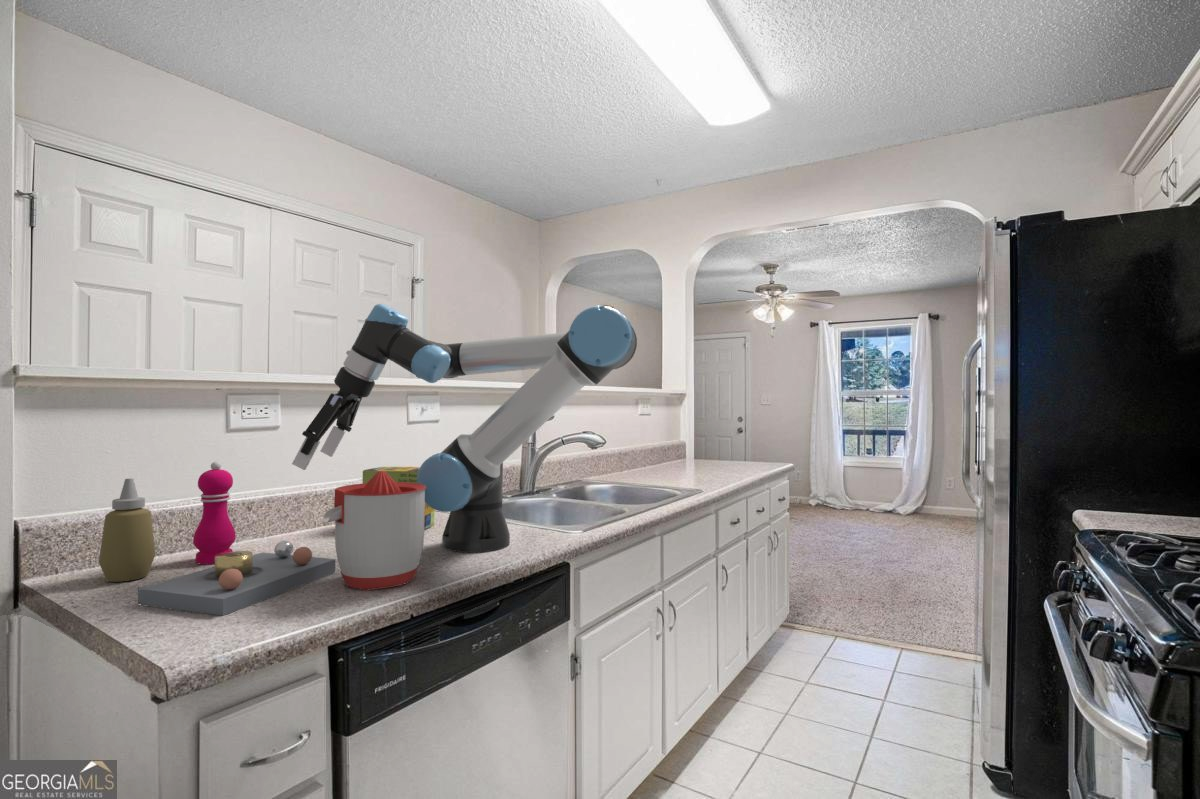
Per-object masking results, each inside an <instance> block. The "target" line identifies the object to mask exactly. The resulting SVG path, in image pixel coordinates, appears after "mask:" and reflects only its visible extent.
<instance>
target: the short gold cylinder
mask: <svg viewBox="0 0 1200 799" xmlns="http://www.w3.org/2000/svg"><path fill="white" fill-rule="evenodd" d="M253 555H254V554H253V552H252V551H250V550H235V551H233V552H227V553H222V554H219V555H216V556H215V564H214V566H215V576H218V577H220V575H221V574H222V573H223V572H224V571H225V570H228V569H237V570H239V571H240V572H241V573H242V575H243V574H247V573H249V572H251V571H252V557H253Z"/></svg>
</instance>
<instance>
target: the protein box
mask: <svg viewBox="0 0 1200 799" xmlns="http://www.w3.org/2000/svg"><path fill="white" fill-rule="evenodd" d="M420 467H421V466H377V467H372V468H369V469H368V468H367V469H364V470H363V469H362V483H368V482H369V481H370V479H371V478H372V477H373V476H374V475H375V474H376V473H378V472H379V471H381V470H382V471H384V472H386V473H387V474H388V475H389V476H390V477H391V478H392V479H393V480H394V481H395V482H409V483H417V474H418V471H419V469H420ZM435 511H436V510H435V509H433V508H431V507H430V506H428V505H427V504H426V503H425V511H424V530H425V531H426V530H428V529H430V528H432V527H433V526H435V519H436V518H435ZM431 526H432V527H431Z"/></svg>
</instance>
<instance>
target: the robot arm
mask: <svg viewBox="0 0 1200 799" xmlns="http://www.w3.org/2000/svg"><path fill="white" fill-rule="evenodd" d="M408 323H409V318H408V317H407V315H404V314H403V313H401V311H398V310H396V309H394V308H392V307H390V306H388V305H385V304H382V303H377V304H375V305H374V306H373V308H372V309H371V311H370V313H369V314H368V315H367V317H366V318H365V319H364V323H363V325H362V327H361V329H360V331H359V333H358V335H357V337H356V339H355V341H354V343H353V345H351V348H350V350H346V353H345V354H346V358H345V360H344V361H343V366H342V367H340V369H339V370H338V371H337V373H336V375H335V378H334V379H333V380H334V381H333V382H334V384H335V385H336V386H337V387H338V388H339V390H338V391H337V393H332V392H331V393H330V394H329V396H328V398H327V399H326V401H325V403H324V404H323V406H321V408H320V410H319V411H318V412H317V414H316V415H315V416H314V418H313V420H312V421H311V422H310V424H309V425H308V427H307V428H306V430H303V432H302V436H304V437H305V439H304V440H303V441H302V444H301V446H300V447H299V449H298V452H297V453H296V455H295V457H294V459H293V461H292V463H291V464H292V465H293V466H295V467H297V468H299V469H301V470H303V471H305V470H307V467H308V466H309V464H310V462H311V461H312V459H313V457H314V455H315V453H316V452H317V449H318V447H319V445H320V443H321V441H320V440H321V439H322V437H323V436H324V435H325V434H326V433H327V431H328V430H329V429H330V428H331V426H332V425H333V424H334V423H335V421H336V424H335V425H334V426H332V428H331V430H330V432H329V433H328V435H327V438H326V440H325V442H324V444H323V445H322V448H320V452H321V453H323V454H324V455H327V456H328V457H330V458H332V457H333V456H334V455H335V453H336V450H337V449H338V447H339V444H340V443H341V441H342V440H343V438H344V435H345V434H346V432H348V433H350V432H351V431H352V426H353V424H354V421H355V418H356V416H357V414H358V410H359V407H360V404H361V402H362V400H363V398H368V397H369V396H370V394H371V392H372V390H373V388H374V386H375V385H376V383H375V381H378V379H379V377H380V375H382V374H381V373H382V372H383V370H384V368H385V366H386V365H387V362H388V361H389V360H390V361H392V362H393V363H395V364H397V365H398V366H400V367H401V368H403V369H404V370H406V371H407V372H410V373H411V374H412V375H414V376H415V377H416V378H418V379H421V380H423V381H426V383H429V384H435V383H437V382H438V381H440V380H441V379H454V378H459V377H463V376H473V375H481V374H482V375H483V374H494V373H505V372H506V373H507V372H516V371H529V370H537V369H538V370H537V371H536V373H534V374H533V375H532V376H531V377H530V378H529V379H528V380H527V381H526V382H524V384H522V386H521V387H519V389H517V390H516V391H515V392H514V393H513V394H512V395H511V396H510V397H509V398H508V399H507V400H506V401H504V403H503V404H502V405H501V406H500V407H499V408H497V410H495V411H494V412H493V413H492V414H491V415H489V417H488V418H487V419H486V420H485V421H484V422H482V424H481V425H480V426H479V427H477V428H476V429H475V430H474V431H473V432H472V433H471V434H463V433H461V434H459V435H458V436H457V437H456V438H455V439H454V440H453V441H451V443H450V444H448V445H447V446H446V447H445V448H444V449H443V450H442V451H441V452H440V453H439V452H438V453H435V454H432V455H431V456H429V457H428V458H426V459H425V460H424V461H423V462H422V463H421V465H420V466H419V467H420V469H419V471H418V474H417V483H419V484H423V485H426V489H425V503H426V504H427V505H428V506H430V507H431V508H433V509H435V511H438V512H441V513H442V512H443V513H446V512H447V513H449V515H448V517H447V520H446V524H445V527H444V530H443V532H442V537H441V540H442V541H441V546H442V548H444V549H446V550H449V551H453V552H460V553H461V552H464V553H465V552H466V553H475V552H476V553H479V552H489V551H496V550H500V549H503V548H505V547H509V545H510V543H511V542H510V541H511V538H510V536H511V535H510V534H511V533H510V529H509V527H508V524H507V521H506V518H505V514H504V510H503V494H504V493H503V490H504V488H503V485H504V481H503V480H504V478H503V477H504V476H503V475H504V462H505V460H507V459H508V458H509V457H510V456H511V455H512V454H513V453H515V451H517V450H518V449H519V447H520V448H521V446H523V444H525V442H526V441H527V440H529V439H530V437H532V436H533V435H534V434H535V433H536V431H538V430H539V429H540V428H541V427H542V426H544V424H546V423H547V422H548V421H549V420H550V419H551V418H552V417H553V416H554V415H555V414H556V413H558V411H560V409H562V407H564V405H567V403H568V402H569V401H570V400H571V399H572V398H573V397H574V396H575V395H576V394H578V393H579V392H580V391H581V390H582V389H583V388H584V387H586V386H588V387H589V386H590V387H591V386H592V387H593V386H597V385H598V384H599V383H600V382H601V381H602V380H604V379H605V378H606V376H608V375H609V374H610V373H611V372H612V371H613V370H619V369H620V368H624V366H626V365H627V364H628V363H629V362H631V360H632V358H634V355H635V353H636V350H637V347H638V346H637V345H638V340H637V339H638V337H637V334H636V331H635V330H634V327H633V326H632V323H631V322H630V321H629V320H628V319H627V317H626V316H625V315H624V314H623V313H621V311H619V310H617V309H615V308H612V307H611V306H607V305H594V306H590V307H587V308H585V309H583V310H582V311H581V312H580V313H579V314H577V315H576V316H575V318H574V319H573V321H572V322H571V324H570V327H569V330H568V331H565V332H557V333H546V334H545V333H544V334H537V335H527V336H525V335H524V336H518V337H517V336H515V337H508V338H506V337H505V338H498V339H497V338H496V339H488V340H487V339H485V340H478V341H477V340H475V341H469V342H468V341H467V342H458V343H446V344H445V343H440V342H436V341H432V340H429V339H426V338H424V337H422V336H421V335H418V334H417V333H416V332H414V331H411V330H410V329H409V328H408V327H407V326H408Z"/></svg>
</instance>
